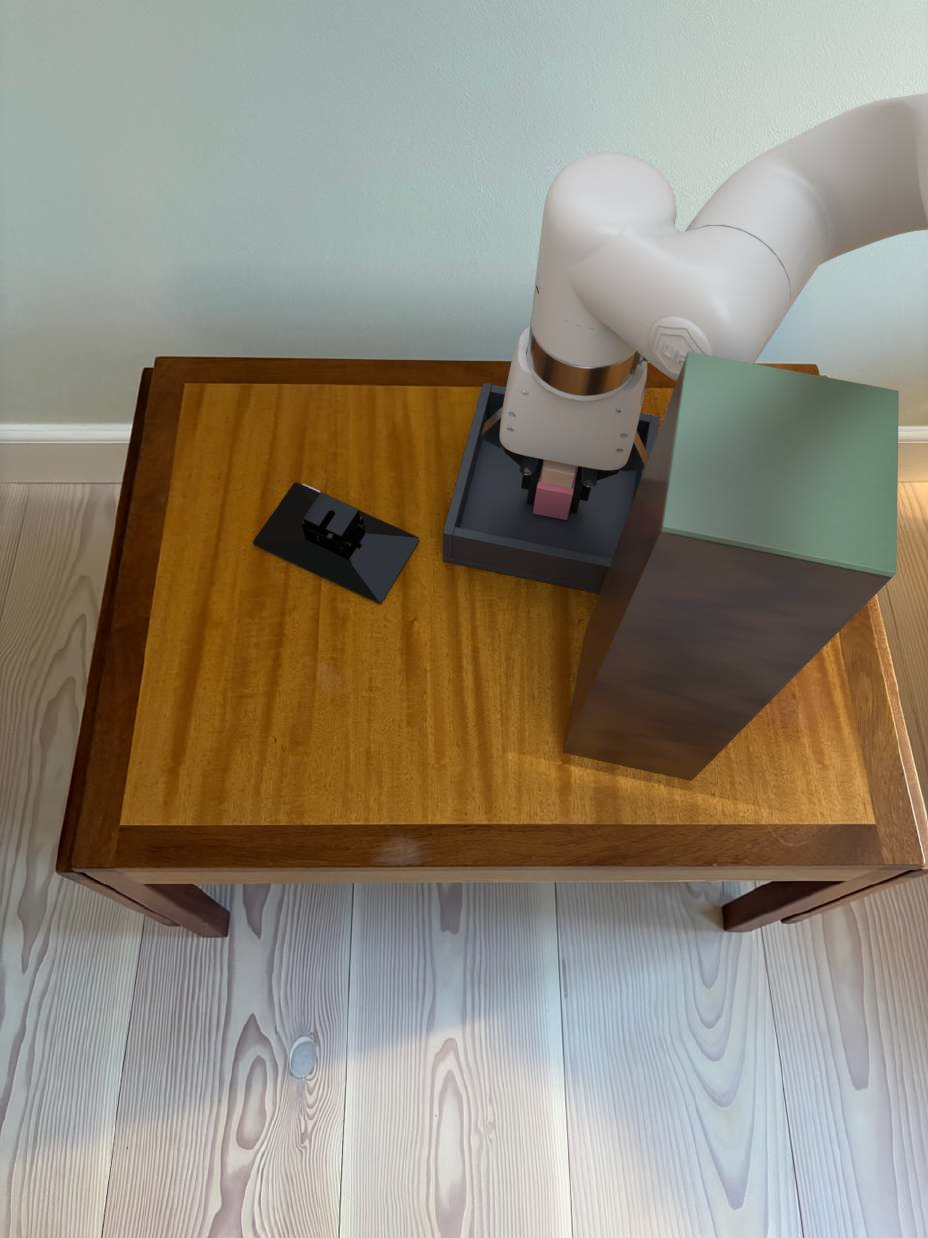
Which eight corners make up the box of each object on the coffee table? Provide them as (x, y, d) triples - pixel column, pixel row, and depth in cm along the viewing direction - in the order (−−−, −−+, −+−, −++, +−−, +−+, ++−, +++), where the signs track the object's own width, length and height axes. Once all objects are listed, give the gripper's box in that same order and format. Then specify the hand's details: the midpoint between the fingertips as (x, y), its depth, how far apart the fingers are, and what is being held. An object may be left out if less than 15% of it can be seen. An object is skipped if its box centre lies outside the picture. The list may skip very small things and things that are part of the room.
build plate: (252, 545, 76) (241, 516, 72) (297, 481, 79) (289, 450, 75) (380, 605, 74) (376, 578, 69) (422, 537, 77) (420, 507, 72)
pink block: (574, 482, 78) (584, 440, 72) (567, 520, 76) (576, 480, 71) (540, 475, 78) (547, 433, 73) (532, 513, 76) (539, 473, 71)
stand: (705, 662, 72) (899, 389, 42) (691, 781, 68) (897, 573, 38) (583, 637, 73) (687, 350, 43) (563, 753, 69) (662, 526, 38)
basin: (648, 449, 81) (660, 416, 77) (624, 599, 75) (636, 572, 70) (480, 417, 82) (482, 382, 78) (442, 561, 76) (442, 532, 71)
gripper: (710, 323, 61) (654, 477, 78) (477, 282, 62) (470, 442, 79) (699, 409, 58) (643, 550, 75) (453, 363, 59) (451, 513, 76)
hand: (554, 493), depth 77 cm, fingers closed on pink block, 3 cm apart
